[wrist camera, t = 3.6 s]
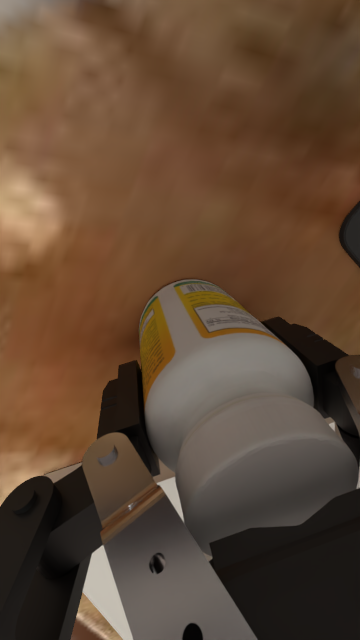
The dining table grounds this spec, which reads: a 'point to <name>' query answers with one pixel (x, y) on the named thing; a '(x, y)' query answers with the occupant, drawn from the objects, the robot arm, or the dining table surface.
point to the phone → (351, 234)
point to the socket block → (99, 572)
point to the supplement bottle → (234, 416)
